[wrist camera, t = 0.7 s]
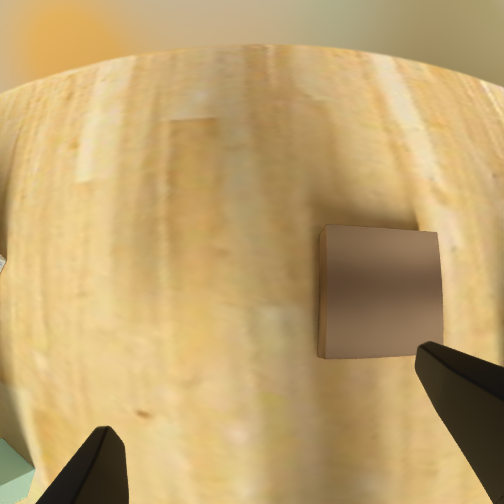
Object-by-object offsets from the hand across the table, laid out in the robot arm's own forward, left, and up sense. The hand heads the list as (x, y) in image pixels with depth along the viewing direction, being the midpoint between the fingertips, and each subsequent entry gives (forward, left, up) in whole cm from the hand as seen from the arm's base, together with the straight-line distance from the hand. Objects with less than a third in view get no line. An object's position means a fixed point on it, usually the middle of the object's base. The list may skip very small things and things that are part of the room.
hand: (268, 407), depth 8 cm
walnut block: (+1, -10, -15) cm, 18 cm away
